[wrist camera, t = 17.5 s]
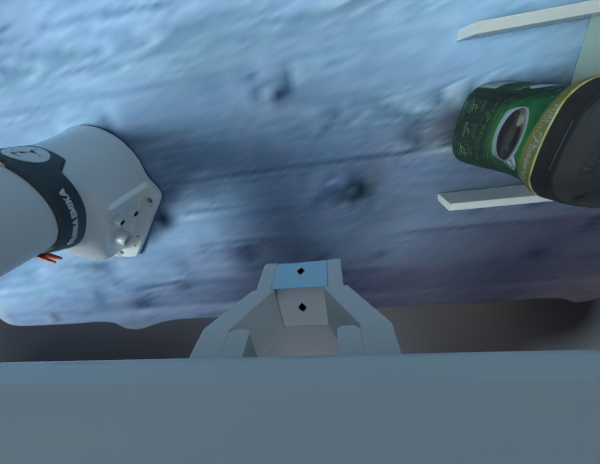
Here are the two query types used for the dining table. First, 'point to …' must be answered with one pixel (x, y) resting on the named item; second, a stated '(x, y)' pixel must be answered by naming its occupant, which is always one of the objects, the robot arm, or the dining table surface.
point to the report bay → (592, 61)
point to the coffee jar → (536, 136)
